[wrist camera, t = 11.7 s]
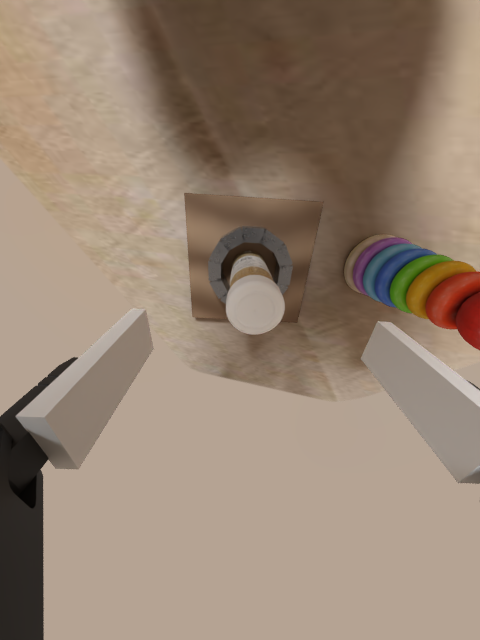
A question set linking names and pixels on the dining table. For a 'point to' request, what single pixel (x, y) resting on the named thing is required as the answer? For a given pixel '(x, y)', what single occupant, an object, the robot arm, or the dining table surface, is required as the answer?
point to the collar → (250, 236)
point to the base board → (232, 212)
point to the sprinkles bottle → (253, 295)
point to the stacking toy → (417, 283)
